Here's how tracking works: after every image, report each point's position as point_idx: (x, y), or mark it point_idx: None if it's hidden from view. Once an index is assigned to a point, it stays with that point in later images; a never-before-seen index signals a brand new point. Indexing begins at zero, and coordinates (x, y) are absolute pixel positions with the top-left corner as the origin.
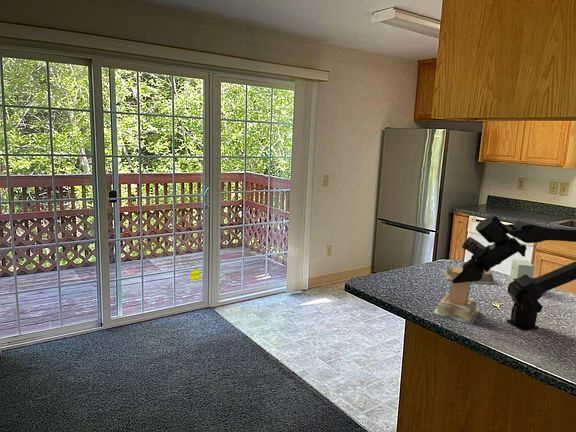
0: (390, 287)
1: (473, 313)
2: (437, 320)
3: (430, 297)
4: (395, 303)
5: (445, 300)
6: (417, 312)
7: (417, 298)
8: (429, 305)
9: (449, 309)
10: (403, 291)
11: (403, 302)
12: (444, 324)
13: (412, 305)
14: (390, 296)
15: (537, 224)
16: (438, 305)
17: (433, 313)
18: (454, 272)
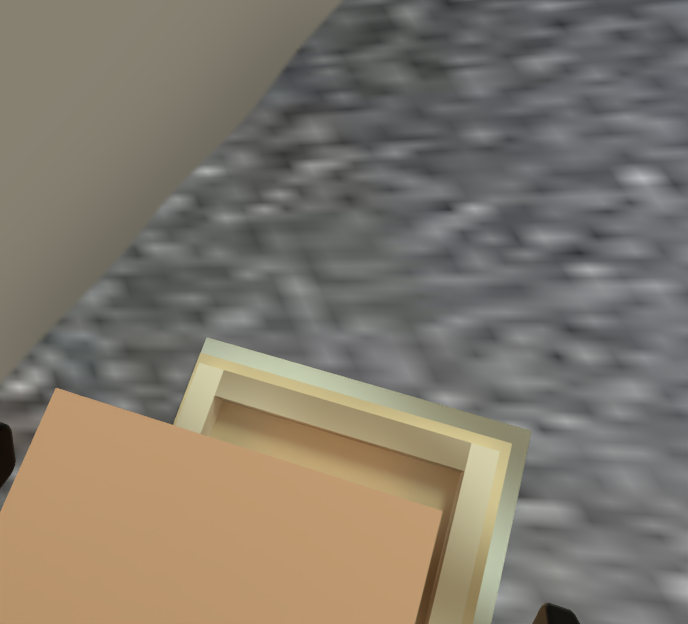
0: (677, 7)
1: None
2: (89, 375)
3: (617, 323)
4: (326, 73)
5: (309, 426)
6: (203, 227)
7: (525, 216)
8: (400, 314)
9: None
10: (639, 103)
11: (373, 121)
12: (24, 428)
13: (338, 186)
14: (460, 29)
15: None
16: (203, 360)
17: (208, 343)
18: (42, 441)
